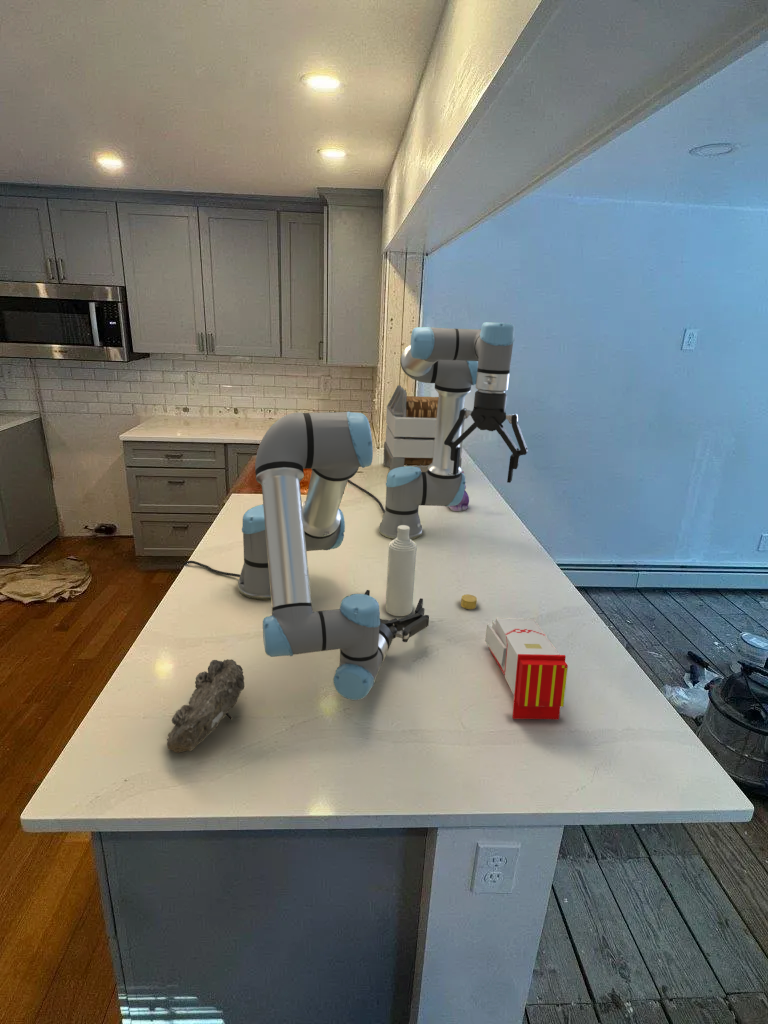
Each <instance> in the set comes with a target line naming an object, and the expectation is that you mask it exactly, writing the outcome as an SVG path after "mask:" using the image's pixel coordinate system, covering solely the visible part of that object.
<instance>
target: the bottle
mask: <svg viewBox="0 0 768 1024" xmlns="http://www.w3.org/2000/svg"><path fill="white" fill-rule="evenodd" d="M397 528H398V529H397V530H398V534H397V537H396V538H395V539H391V541H390V542H389V543H388V549H387V550H388V552H387V569H386V570H387V572H386V592H385V611H386V613H388V614H389V615H391V616H395V617H406V616H409V615H411V613H412V612H413V605H414V591H415V578H416V577H415V575H416V562H417V543H415V542H414V540H413V539H410V538H409V530H410V528H409V526H406V525H400V526H398V527H397Z"/></svg>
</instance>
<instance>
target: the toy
mask: <svg viewBox="0 0 768 1024" xmlns="http://www.w3.org/2000/svg"><path fill="white" fill-rule="evenodd" d="M484 642H485V643H486V645H487V646H488V650H489V651H490V654H491V655H492V657H493V659H494V660H495V662H496V664H497V666H498V667H499V669H500V671H501V672H502V675H503V676H504V678H505V680H506V682H507V684H508V686H509V688H510V691H511V693H512V694H513V704H512V705H513V706H512V715H511V717H512V719H513V720H560V714H561V708H563V707H564V704H565V695H566V685H567V677H568V668H569V666H568V663H567V662H566V657H567V656H566V654H560V653H559V651H558V650H557V648H556V647H555V646H554V645H553V643H552V642H551V640H550V639H549V638H548V636H547V635H546V634H545V632H544V631H543V629H542V628H541V627H540V625H539V623H537V621H536V620H535V619H534V618H523V617H522V618H521V617H520V618H519V617H516V618H515V617H496V618H495V620H492V622H491V624H490V623H486V629H485V637H484Z"/></svg>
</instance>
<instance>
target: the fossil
mask: <svg viewBox="0 0 768 1024" xmlns="http://www.w3.org/2000/svg"><path fill="white" fill-rule="evenodd" d="M243 670H244V669H243V667H242V665H240V664H237V662H236V661H235V660H234V659H232V658H231V659H227V658H226V659H224V660H223V661H222V660H217V659H212V660H211V661H210V663H209V665H208V666H207V671H201V672H199V673H198V674H197V675H196V676H195V680H194V684H195V685H194V687H195V689H194V690H193V693H192V694H191V697H190V698H189V700H188V704H184V705H182V706H181V707H180V709H177V710H176V711H175V713H174V715H173V716H172V718H171V723H172V724H173V727H172V730H171V731H170V732H168V734H167V738H166V741H167V742H166V745H167V749H168V750H169V751H173V752H174V753H176V754H178V753H182V752H188V751H189V752H192V751H193V750H195V748H196V747H197V746H199V744H200V743H201V742H203V741H204V740H205V739H206V738H207V737H208V736H209V735H210V734H211V733H212V732H214V730H215V729H217V727H218V726H219V724H220V722H221V721H222V720H223V719H224V718H225V716H226V717H227V719H229V720H233V717H232V715H230V714H229V710H230V709H231V708H234V706H235V704H236V703H237V702H238V699H239V697H240V695H241V693H242V691H243V690H245V689H244V688H245V675H244V671H243Z"/></svg>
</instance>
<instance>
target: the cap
mask: <svg viewBox="0 0 768 1024" xmlns="http://www.w3.org/2000/svg"><path fill="white" fill-rule="evenodd" d="M477 602H478V598H477V597H476V595H473V594H467V593H466V594H463V595H461V599H460V607H462V608H463V609H466V610H475V609H476V608H477Z"/></svg>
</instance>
